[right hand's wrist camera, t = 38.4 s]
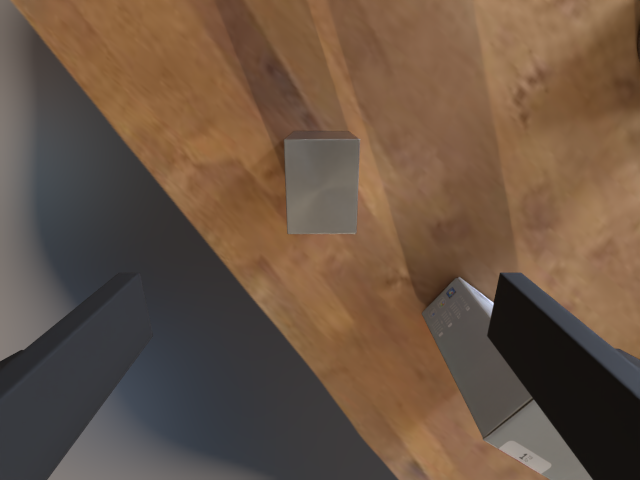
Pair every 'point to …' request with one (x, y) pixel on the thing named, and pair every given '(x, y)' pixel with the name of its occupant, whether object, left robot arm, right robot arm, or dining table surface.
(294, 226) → the grey metal block
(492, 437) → the hard drive box
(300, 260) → the dining table surface
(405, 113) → the dining table surface
